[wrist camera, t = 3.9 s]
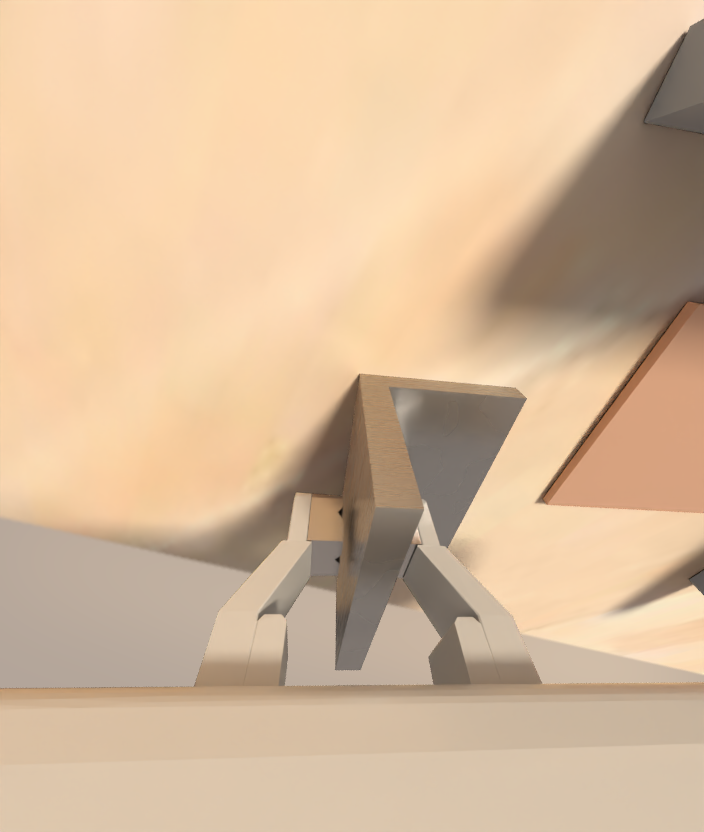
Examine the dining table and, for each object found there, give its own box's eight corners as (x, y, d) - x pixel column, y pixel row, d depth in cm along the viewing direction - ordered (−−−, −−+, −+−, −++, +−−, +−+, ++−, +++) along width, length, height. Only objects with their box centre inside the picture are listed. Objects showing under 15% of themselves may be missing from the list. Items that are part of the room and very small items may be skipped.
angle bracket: (441, 533, 14) (485, 669, 9) (337, 529, 13) (335, 670, 9) (513, 385, 9) (657, 520, 5) (359, 371, 9) (375, 507, 5)
